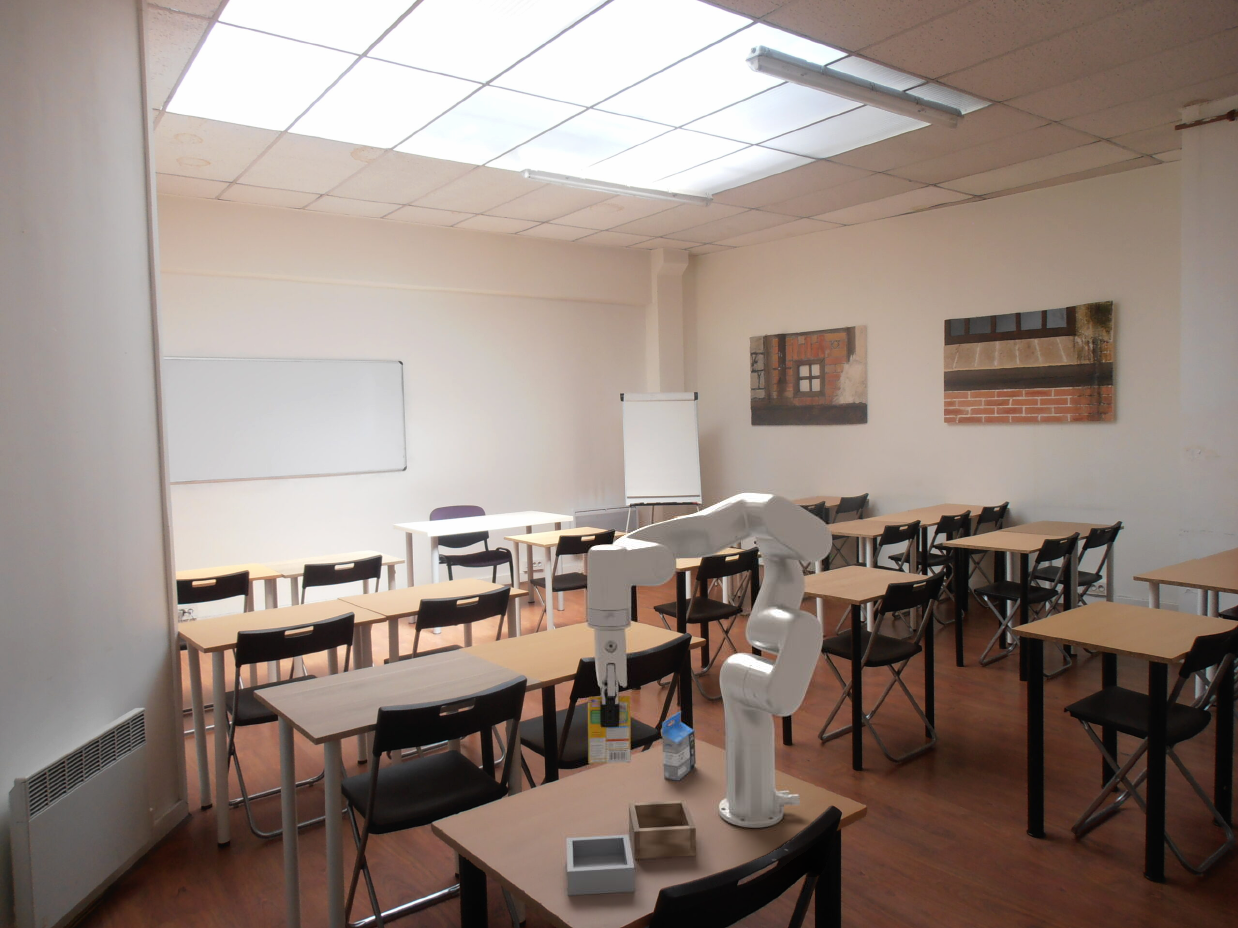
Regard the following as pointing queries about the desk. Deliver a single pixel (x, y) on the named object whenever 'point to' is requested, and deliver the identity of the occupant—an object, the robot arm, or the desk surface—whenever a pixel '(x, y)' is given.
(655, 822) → the sleeve block
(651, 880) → the desk surface
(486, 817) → the desk surface
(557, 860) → the desk surface
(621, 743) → the crayon box
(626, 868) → the block
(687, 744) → the label tape box
